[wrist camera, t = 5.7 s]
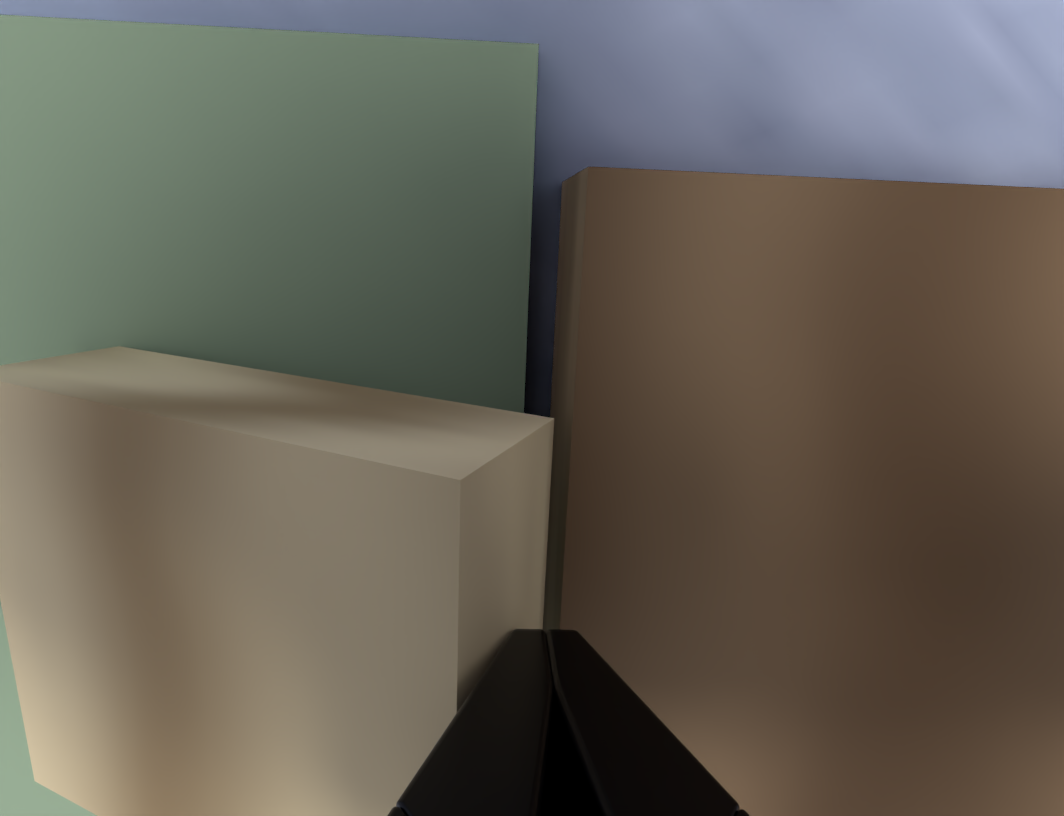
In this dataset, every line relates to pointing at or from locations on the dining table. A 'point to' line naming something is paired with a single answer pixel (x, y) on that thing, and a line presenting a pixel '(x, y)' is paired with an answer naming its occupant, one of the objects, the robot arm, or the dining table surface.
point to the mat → (263, 217)
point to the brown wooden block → (819, 480)
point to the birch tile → (254, 578)
